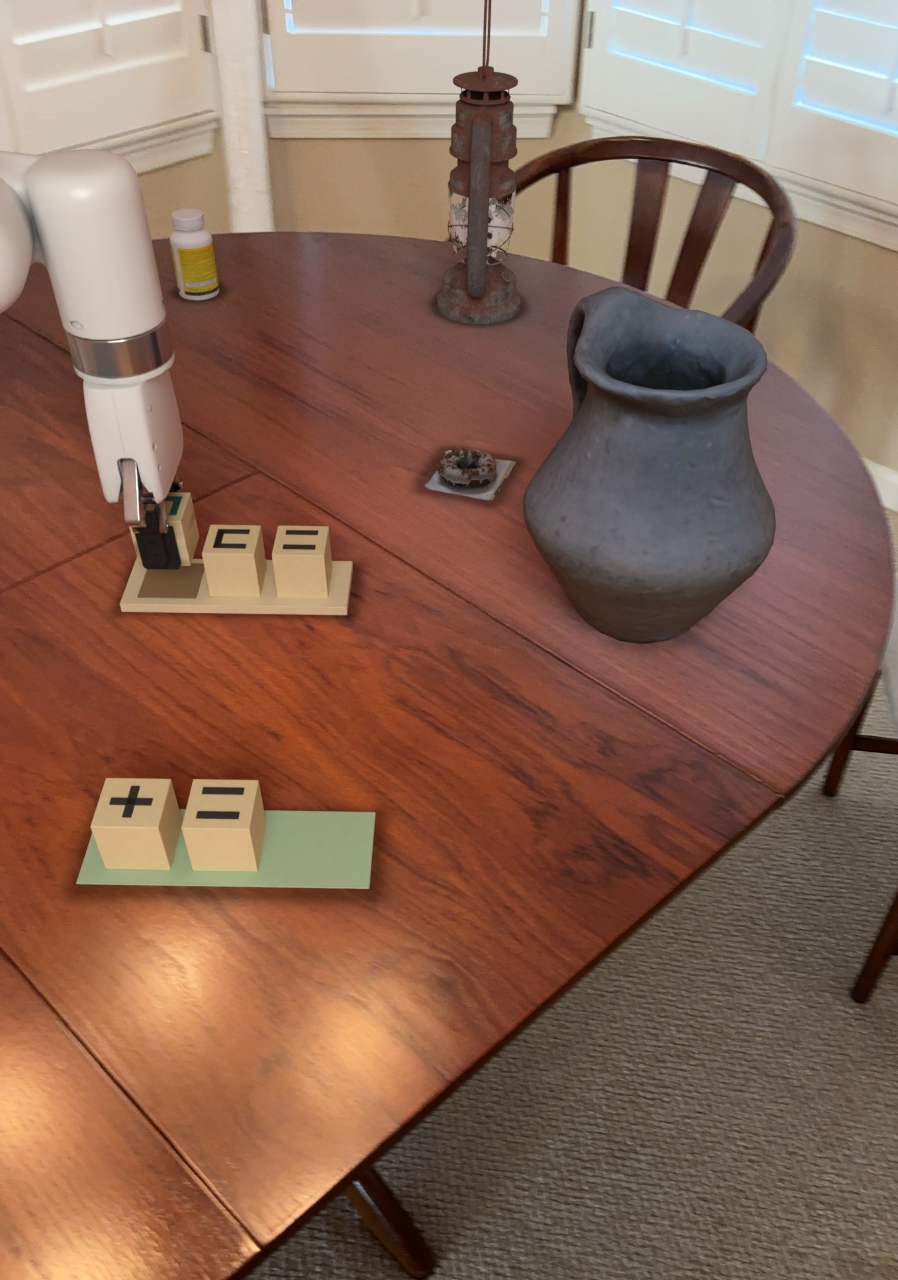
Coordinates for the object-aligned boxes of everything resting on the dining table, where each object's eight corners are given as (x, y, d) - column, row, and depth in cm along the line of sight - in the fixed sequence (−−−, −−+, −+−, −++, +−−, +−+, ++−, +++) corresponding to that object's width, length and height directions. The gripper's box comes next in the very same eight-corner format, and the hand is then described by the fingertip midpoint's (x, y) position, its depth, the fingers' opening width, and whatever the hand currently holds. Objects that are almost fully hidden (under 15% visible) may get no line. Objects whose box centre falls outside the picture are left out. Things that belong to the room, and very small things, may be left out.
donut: (446, 450, 113) (446, 433, 111) (516, 463, 111) (517, 445, 109) (419, 490, 107) (419, 472, 106) (492, 504, 106) (493, 486, 104)
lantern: (430, 332, 132) (429, -15, 106) (442, 280, 143) (444, -46, 117) (517, 336, 132) (538, -11, 106) (523, 284, 143) (542, -43, 117)
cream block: (138, 566, 91) (126, 519, 88) (149, 536, 94) (138, 490, 91) (190, 566, 91) (180, 520, 88) (199, 536, 94) (190, 491, 91)
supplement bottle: (228, 293, 140) (217, 213, 132) (195, 305, 137) (182, 224, 130) (203, 282, 142) (191, 202, 135) (170, 293, 140) (156, 213, 132)
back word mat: (121, 613, 93) (107, 559, 89) (138, 566, 98) (125, 514, 94) (347, 616, 93) (343, 563, 89) (353, 570, 98) (349, 517, 94)
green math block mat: (79, 892, 72) (57, 839, 68) (103, 816, 77) (84, 762, 73) (370, 897, 72) (366, 844, 68) (376, 820, 77) (372, 767, 73)
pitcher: (610, 714, 85) (658, 424, 67) (465, 578, 97) (472, 301, 79) (796, 630, 92) (885, 349, 74) (639, 513, 105) (682, 248, 86)
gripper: (97, 296, 85) (146, 497, 98) (39, 397, 73) (103, 609, 87) (190, 297, 85) (226, 497, 98) (147, 398, 73) (194, 609, 87)
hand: (168, 548), depth 92 cm, fingers closed on cream block, 4 cm apart
